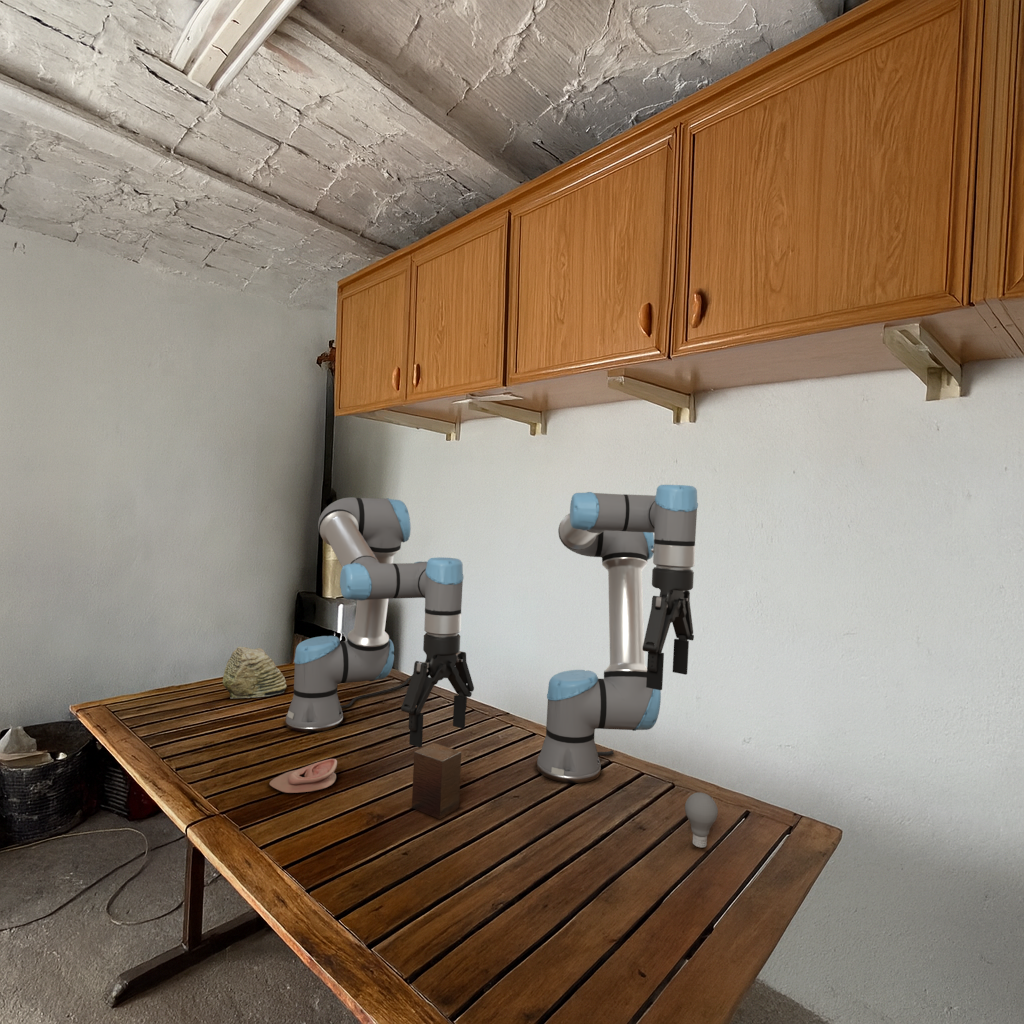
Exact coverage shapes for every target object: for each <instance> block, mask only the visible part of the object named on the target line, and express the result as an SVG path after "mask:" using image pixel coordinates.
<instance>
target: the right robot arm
mask: <svg viewBox="0 0 1024 1024" xmlns="http://www.w3.org/2000/svg"><path fill="white" fill-rule="evenodd" d="M698 508H699V503H698V489H697V487H695V486H694V485H687V484H686V485H685V484H660V485H658V486H657V487H656V493H655V495H650V494H625V493H623V494H621V493H619V494H618V493H604V492H603V493H602V492H601V493H600V492H593V491H586V492H575V493H573V495H572V496H571V499H570V505H569V513H568V514H566V515H565V516H564V517H563V518H562V520H561V521H560V523H559V525H558V537H559V540H560V542H561V544H562V545H563V546H564V547H565V548H566V549H567V550H570V551H571V552H573V553H575V554H578V555H581V556H585V557H590V558H592V557H593V558H601V565H602V567H604V568H605V570H607V574H608V575H607V577H608V579H607V580H608V634H609V635H608V637H609V641H608V643H609V665H608V666H607V667H606V668H605V669H604V670H603V678H599V676H598V674H597V673H596V672H594V671H592V670H585V669H570V670H564V671H561V672H558V673H556V674H554V675H553V676H551V677H550V679H549V681H548V688H547V694H546V699H547V709H546V725H545V727H546V729H545V737H544V739H543V744H542V747H541V750H540V752H539V754H538V756H537V759H536V760H537V761H536V769H537V771H538V772H539V774H540V775H542V776H544V777H545V778H547V779H549V780H552V781H555V782H560V783H567V784H583V783H589V782H592V781H594V780H596V779H597V778H599V777H600V775H601V769H602V768H601V766H602V764H601V761H600V758H599V757H609V756H613V755H614V754H615V752H614V751H613V750H609V751H598V749H597V745H596V742H595V741H596V740H595V731H596V729H597V730H599V729H600V730H619V731H620V730H621V731H622V730H624V731H633V732H634V731H649V730H651V729H653V727H654V726H655V725H656V723H657V721H658V718H659V714H660V708H661V703H662V702H661V701H662V700H661V699H662V690H663V682H664V662H665V661H664V660H665V653H664V652H663V649H664V645H665V643H666V639H667V636H668V633H669V630H670V626H671V623H672V627H673V630H674V634H675V638H674V639H673V656H672V658H673V659H672V673H674V674H680V675H688V666H689V649H690V648H689V645H690V641H692V642H693V641H694V640H695V639H694V638H695V635H694V626H693V618H692V610H691V599H690V597H691V590H692V589H693V588H694V579H695V577H694V575H695V574H694V573H695V572H694V570H693V569H692V568H694V567H695V561H696V536H697V516H698V515H697V514H698ZM651 559H652V563H653V565H655V566H654V567H653V568H652V569H651V570H652V572H651V586H652V587H653V588H655V589H658V590H659V595H652V597H651V608H650V612H649V617H648V620H647V625H646V626H647V627H646V631H645V624H644V596H643V595H644V594H643V592H644V591H643V570H644V569H645V568H646V567H647V566H648V560H651ZM646 652H647V663H646ZM646 664H647V665H646Z"/></svg>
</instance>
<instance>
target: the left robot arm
mask: <svg viewBox="0 0 1024 1024" xmlns="http://www.w3.org/2000/svg"><path fill="white" fill-rule="evenodd" d="M317 528H318V529H317V530H318V532H319V535H320V537H321V539H322V540H323V542H324V543H325V544H327V545H329V546H330V547H331V549H332V551H333V552H334V554H335V556H336V559H337V561H338V563H339V564H340V566H341V570H340V576H339V588H340V593H341V595H342V597H343V598H344V599H345V600H353V601H354V600H355V601H356V606H355V607H356V609H355V616H354V625H353V628H352V629H351V630H350V631H349V632H348V633H347V638H346V640H343V641H341V640H340V638H339V637H338V636H335V635H321V636H315V637H311V638H308V639H305V640H303V641H300V642H299V643H298V644H297V645H296V648H295V654H294V660H293V663H294V672H293V673H294V674H293V675H294V679H293V695H292V696H293V697H292V699H291V702H290V704H289V708H288V711H287V713H286V715H285V726H286V728H287V729H289V730H291V731H294V732H295V731H296V732H301V733H316V732H325V731H329V730H332V729H335V728H337V727H339V726H340V725H342V723H343V722H344V714H343V709H347V708H349V707H351V706H352V705H353V703H354V702H356V701H358V700H360V699H365V698H370V697H374V696H378V695H383V694H386V693H390V692H393V691H395V690H398V689H401V688H403V687H404V686H406V685H407V684H408V683H409V684H408V687H407V689H406V692H405V695H404V698H403V701H402V704H401V707H400V710H401V712H403V713H406V714H408V730H409V739H408V741H409V743H408V744H409V745H410V746H413V747H415V748H418V749H421V748H423V735H424V713H423V712H422V710H423V708H424V706H425V704H426V702H427V701H428V698H429V696H430V694H431V693H432V691H433V688H434V686H435V685H437V684H438V683H439V681H442V680H443V679H447V680H448V681H449V683H450V685H451V686H452V688H453V689H454V691H455V693H456V694H455V695H453V711H452V712H453V714H452V726H453V727H455V728H459V729H463V730H464V729H465V728H466V711H467V705H468V698H471V697H472V695H473V694H472V693H473V692H474V689H475V685H474V683H473V679H472V676H471V672H470V670H469V665H468V661H467V652H465V651H462V650H461V635H460V634H459V633H461V631H462V604H463V585H464V584H463V582H464V568H463V566H464V565H463V562H462V560H461V559H460V558H454V557H430V558H428V560H427V561H415V562H410V563H409V562H403V563H400V562H399V563H394V559H395V555H396V554H397V553H398V552H400V551H401V547H402V543H405V542H408V541H409V540H410V537H411V531H412V530H411V528H412V527H411V518H410V513H409V510H408V507H407V505H406V504H405V502H404V501H402V500H401V499H395V498H393V499H392V498H389V497H385V498H383V497H382V498H379V497H378V498H376V497H354V496H353V497H351V496H350V497H343V498H340V499H337V500H335V501H333V502H331V503H330V504H328V506H326V507H325V508H324V509H323V511H322V512H321V514H320V516H319V518H318V522H317ZM421 598H422V599H424V628H423V631H424V632H425V634H424V635H423V647H422V651H423V652H424V653H425V657H426V658H425V660H424V661H419V660H415V662H414V664H413V672H412V674H411V675H410V676H409V677H408V678H407V679H406V680H405V681H404V682H403V683H400V684H399V685H396V686H394V687H391V688H388V689H384V690H380V691H376V692H371V693H366V694H362V695H359V696H356V697H354V698H352V699H351V700H350V701H349V703H347V704H341V702H340V699H339V695H338V685H339V684H340V685H341V684H348V683H361V682H368V681H369V682H375V681H377V680H383V679H385V678H387V677H388V675H390V673H391V671H392V669H393V666H394V661H395V655H394V653H395V647H394V646H395V645H394V642H393V641H392V639H391V638H390V635H389V634H388V633H387V632H386V631H385V630H386V624H387V623H386V621H387V615H388V607H389V606H388V605H389V600H390V599H391V600H392V599H421Z"/></svg>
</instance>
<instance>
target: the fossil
mask: <svg viewBox="0 0 1024 1024" xmlns="http://www.w3.org/2000/svg"><path fill="white" fill-rule="evenodd" d="M222 676H223V677H222V685H223V687H224V688H225V690H226V691H228V693H229V698H230V699H250V698H264V697H271V696H275V695H281V694H284V693H285V691H286V689H287V687H288V686H287V680H286V678H285V676H284V674H283V673H282V672H281V669H279V668H278V667H277V665H276V663H275V662H274V660H273V659H272V658H271V657H270V656H269V655H268V654H267V653H266V652H265V650H264V649H263V648H260V647H258V648H251V647H247V646H246V647H245V646H238V647H237V648H236V649H235V650H233V651H232V653H231V656H230V657H229V659H228V660H227V663H226V666H225V668H224V671H223V675H222Z"/></svg>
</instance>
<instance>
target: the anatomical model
mask: <svg viewBox="0 0 1024 1024" xmlns="http://www.w3.org/2000/svg"><path fill="white" fill-rule="evenodd" d="M337 766H338V760H337V759H336V758H329V759H324V760H321V761H318V762H315V763H314V762H313V763H312V764H309V765H306V766H303V767H301V768H298V769H294V770H289V771H287V772H284V773H282V774H279V775H277V776H276V777H274V778H273V779H271V780H270V781H269V786H270V787H272V788H273V789H275V790H277V791H279V792H282V793H286V794H294V793H295V794H296V793H297V794H299V793H306V792H307V793H308V792H315V791H319V790H320V791H321V790H323V789H326V788H328V787H330V786H332V785H333V784H334V783H335V782H336V780H337V773H335V771H336V769H337V768H338V767H337Z"/></svg>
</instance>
